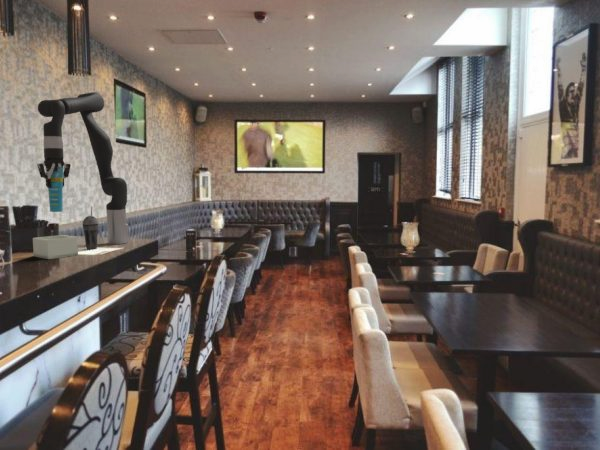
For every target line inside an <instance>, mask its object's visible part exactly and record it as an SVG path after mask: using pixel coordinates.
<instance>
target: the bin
mask: <svg viewBox="0 0 600 450" xmlns="http://www.w3.org/2000/svg"><path fill="white" fill-rule="evenodd" d="M78 248H79V247H78V236H71V235H64V234H60V235H59V234H58V235H48V236H40V237H39V236H38V237H32V250H33V257H34V258H35V257H36V258H40V259H45V260H46V259H47V260H52V259H60V258H68V257H67V256H69V257H73V256H75V255H76V256H79V250H78ZM76 256H75V257H76Z"/></svg>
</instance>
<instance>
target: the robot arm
mask: <svg viewBox="0 0 600 450" xmlns="http://www.w3.org/2000/svg"><path fill="white" fill-rule="evenodd" d="M104 108H105V100H104V97H103V96H102V95H101V94H100V93H98V92H95V91H94V92H93V91H92V92H87V93H80V94H78V95H77V97H76V96H75V97H64V98H58V99H43V100H41V101H40V102H39V103H38V105H37V111H38V113H39V114H40V116H43V117H44V118H45V117H46V118H51V120H50V121H48V122H45V123H44V124H43V126H42V127H43V128H42V129H43V159H44V161H43V162H42V163H41V162H39V163H37V164H36V165H37V169H38V173H39V176H40V177H41V178H42V179H45V186H46V188H51V179H50V178H51V174H52V173H53V171H57V170H58V168H59V169H60V167H63V187H65V179H66V178H68V177H69V176H70V175H69V174H70V171H71V164H70V163H65V160H64V142H63V132H62V127H63V123H64V118H65V116H66V115H73V114H77V113H80V114H79V115H81V116H80V117H81V118H82V120H83V123H84V126H85V128H86V132H87V135H88V137H89V138H88V139H89V142H90V146H91V149H92V152H93V156H94V158H95V162H96V166H97V170H98V173H99V179H100V184H101V185H100V186H101V189H102V191H103V192H104V194H105V195H106V196H110V197H111V200H110V201H109V202H108V203H106V204H105V206H106V231H107V233H106V234H107V244H108V245H121V244H127V243H129V239H130V237H129V225H128V223H127V211H126V210H127V209H126V207H127V203H128V186H127V182H126V180H125V179H124V178H122V177H114V173H113V170H112V162H113V161H112V160H113V156H114V150H113V149H114V148H113V144H112V143H111V142H112V141H111V138H110V137H109V135H108V134H107V132H105V130H103V128H102V127H100V125H99V124H98V123H97V122H96V120H95V118H94V115H93V113H98V112H101V111H102V110H104ZM45 167H46V168H47V169H46V168H45ZM57 167H58V168H57Z"/></svg>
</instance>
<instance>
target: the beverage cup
mask: <svg viewBox="0 0 600 450" xmlns="http://www.w3.org/2000/svg"><path fill="white" fill-rule="evenodd" d="M82 220H83V221H82V229H83V233H84V240H85V247H86V250H97V248H98V232H99V231H98V229H99V221H98V219H97V218H96V217H95V216H93V206H90V215H88V216H86V217H84V219H82Z"/></svg>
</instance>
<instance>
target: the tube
mask: <svg viewBox="0 0 600 450" xmlns="http://www.w3.org/2000/svg"><path fill="white" fill-rule="evenodd" d="M57 168H58V167H57ZM44 169H45V170H46V169H47V168H46V166H44ZM63 173H64V166H63V167H60V169H59V168H58V170H57V171H53V173H52V174H51V178H50V179H51V188H48V201H49V202H48V203H49V211H50V212H51V213H62V212H63V207H64V206H63V205H64V204H63V198H64V197H63V191H64V190H63V188H64V186H63ZM50 212H49V213H50Z"/></svg>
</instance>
